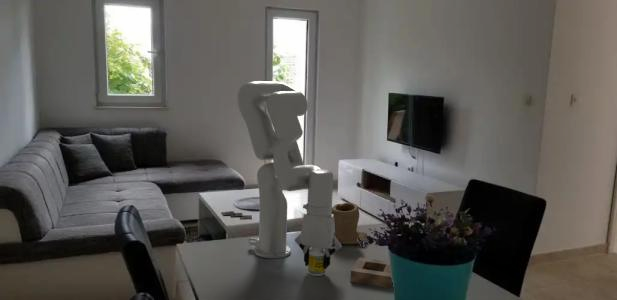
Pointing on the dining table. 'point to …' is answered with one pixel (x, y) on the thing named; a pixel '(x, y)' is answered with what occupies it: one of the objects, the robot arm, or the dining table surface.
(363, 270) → the bottle holder
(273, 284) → the dining table surface
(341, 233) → the brown hollow tube piece
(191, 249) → the dining table surface
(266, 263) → the dining table surface
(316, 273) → the supplement bottle
